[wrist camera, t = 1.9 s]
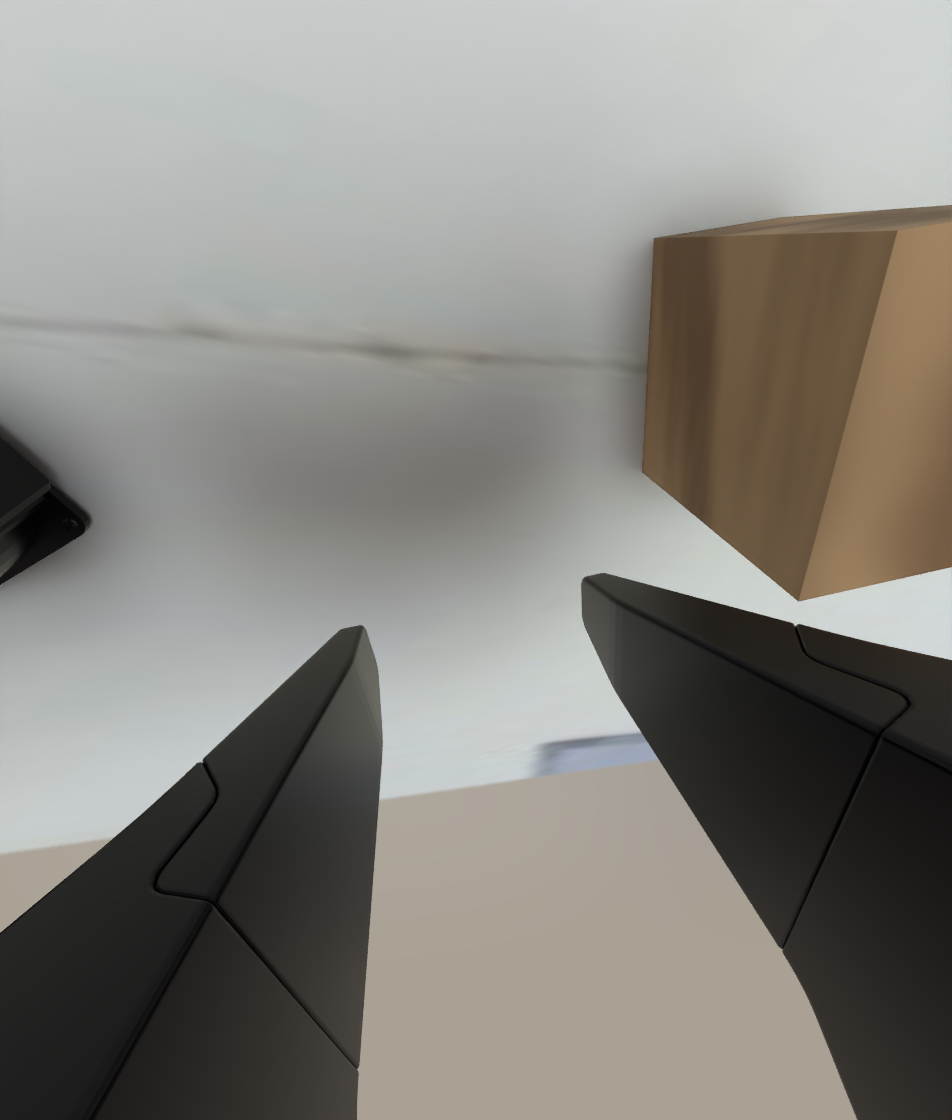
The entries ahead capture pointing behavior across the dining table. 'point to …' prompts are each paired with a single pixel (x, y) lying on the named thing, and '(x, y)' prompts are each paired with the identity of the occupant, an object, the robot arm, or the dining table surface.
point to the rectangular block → (809, 392)
